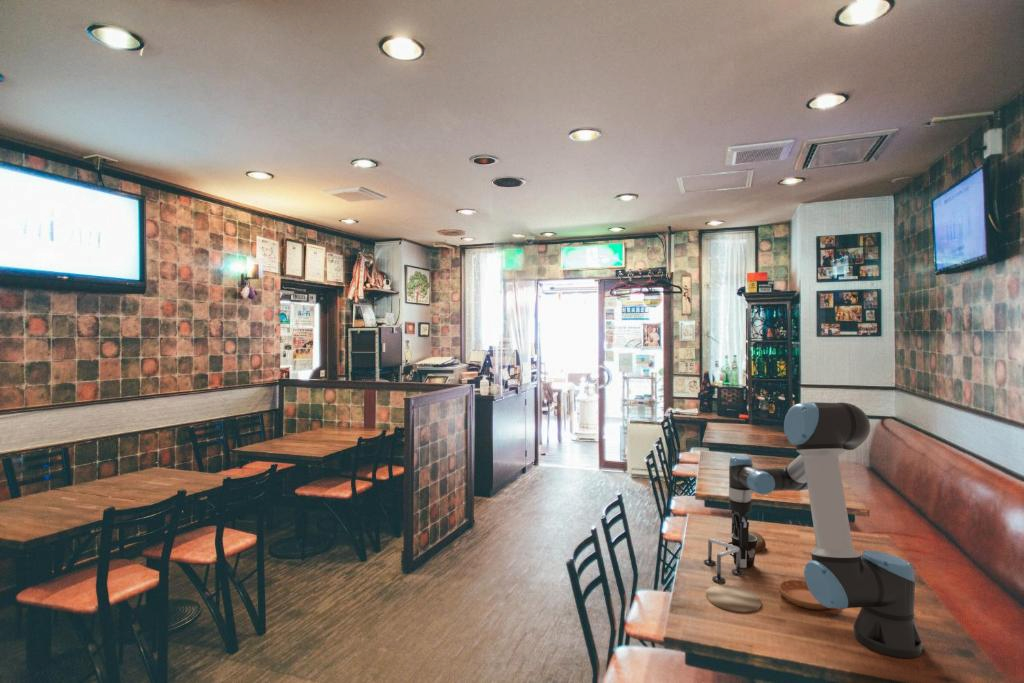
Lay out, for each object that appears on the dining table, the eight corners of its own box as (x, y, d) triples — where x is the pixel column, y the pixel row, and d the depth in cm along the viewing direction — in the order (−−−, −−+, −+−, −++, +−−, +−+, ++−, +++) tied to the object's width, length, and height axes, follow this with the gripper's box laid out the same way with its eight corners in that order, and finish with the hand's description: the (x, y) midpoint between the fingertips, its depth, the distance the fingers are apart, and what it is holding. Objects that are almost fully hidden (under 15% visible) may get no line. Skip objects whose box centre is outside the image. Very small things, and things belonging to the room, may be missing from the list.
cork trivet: (768, 614, 159) (768, 612, 159) (712, 610, 161) (712, 607, 161) (752, 589, 175) (752, 587, 175) (701, 585, 177) (701, 583, 177)
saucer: (820, 618, 157) (820, 608, 157) (768, 596, 171) (768, 587, 171) (846, 604, 166) (846, 594, 166) (795, 584, 179) (795, 575, 179)
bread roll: (735, 552, 214) (728, 535, 213) (755, 538, 217) (748, 521, 216) (754, 562, 205) (746, 544, 204) (773, 548, 208) (766, 530, 207)
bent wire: (751, 585, 177) (752, 558, 177) (713, 582, 179) (714, 555, 179) (737, 562, 195) (737, 538, 195) (703, 560, 197) (703, 536, 197)
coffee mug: (752, 560, 198) (752, 533, 198) (760, 570, 189) (760, 541, 189) (719, 558, 199) (719, 531, 199) (726, 568, 190) (726, 540, 190)
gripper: (759, 508, 184) (758, 575, 184) (743, 492, 203) (743, 553, 203) (736, 507, 185) (735, 573, 185) (723, 491, 204) (722, 551, 204)
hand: (739, 562), depth 194 cm, fingers closed on coffee mug, 6 cm apart
